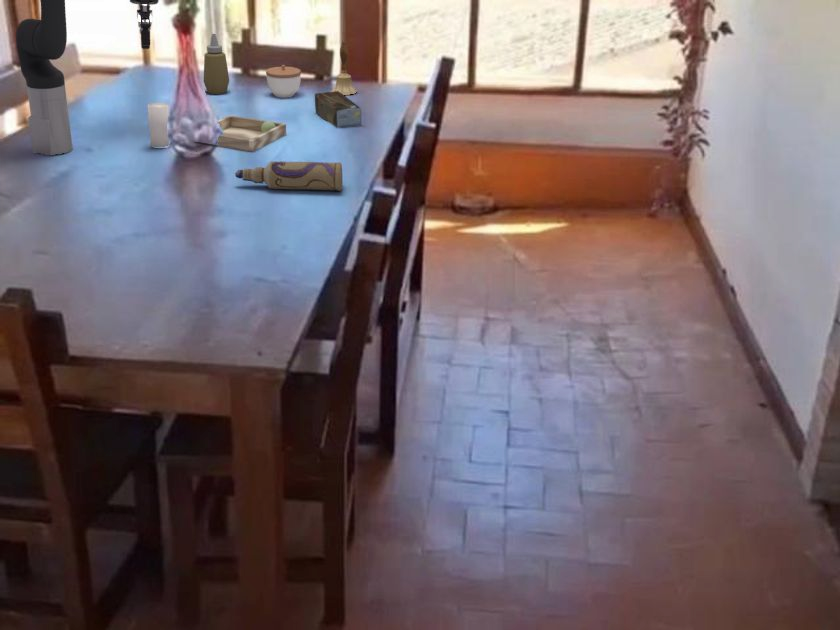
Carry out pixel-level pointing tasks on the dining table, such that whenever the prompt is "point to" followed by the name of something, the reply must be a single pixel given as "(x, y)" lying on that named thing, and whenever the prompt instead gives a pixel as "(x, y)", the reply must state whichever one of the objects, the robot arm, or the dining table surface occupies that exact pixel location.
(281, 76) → the lidded jar
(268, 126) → the green ball
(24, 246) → the dining table surface
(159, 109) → the white dome-topped cylinder
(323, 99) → the beverage carton
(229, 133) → the tray
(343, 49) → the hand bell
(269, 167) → the decorative bottle
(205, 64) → the squeeze bottle
